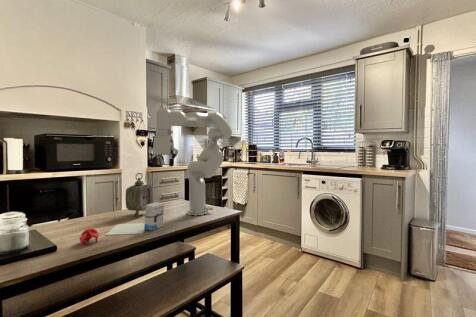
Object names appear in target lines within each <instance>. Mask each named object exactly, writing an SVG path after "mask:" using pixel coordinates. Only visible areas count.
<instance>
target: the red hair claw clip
mask: <svg viewBox="0 0 476 317" xmlns="http://www.w3.org/2000/svg"><path fill="white" fill-rule="evenodd" d="M93 238H94V239H95V242H96V243H98V238H99V233H98V231H97V229H94V228H87V229H85V230H84V231H83V232H82V233H81V236H80V237H79V241H80V243H81V244H82V245H87V242H86V241H89V240H92V239H93Z"/></svg>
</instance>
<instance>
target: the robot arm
mask: <svg viewBox="0 0 476 317" xmlns="http://www.w3.org/2000/svg"><path fill="white" fill-rule="evenodd" d="M172 127H189V128H191V127H192V128H193V127H194V128H209V129H208V132H207V136H208V144H207V145H206V146H205V147H204V148H203V150H202V151H201V152H200V154H199V156H198V160H194V161H191V162H190V163H189V164H188V165H187V168H186V169H187V176H188V182H189V184H188V185H189V187H188V188H189V189H188V190H189V191H188V194H189V197H188V198H189V200H188V201H189V203H188V204H189V210H187V211H186V215H188V216H191V215H194V216H195V217H198V216H197V215H201V216H204V214H205V215H208V213H209V211H213V210H214V207H213V206H207V204H206V182H205V179H209V178H212V177H213V176H214V175H215V174H216V172H217V171H218V170H219V168H220V167H221V166H222V164H223V162H224V158H225V157H224V153H223V151H221V145H220V142H219V140H228V139H230V138H231V136H233V135H232V134H233V131H232V128H231V126H230V125H229V124H228V122H227V121H226V118H224V116H222V114H220V113H219V112H209V113H207V112H197V111H191V112H184V111H181V110H170V109H165V108H159V109H156V111H155V135H154V139H153V147H152V148H150V149H148V153H149V156H150V157H151V158H152V167H158V164H159V162H158V157H159V156H168V157H169V159H168V160H169V161H168V162H169V163H168V167H171V168H172V167H174V164H175V159H176V158H177V156H178V154H179V150H178V149H177V148H175V145H174V137H173V135H172V134H173V133H174V132H173V130H172ZM204 178H205V179H204ZM194 216H193V217H194Z"/></svg>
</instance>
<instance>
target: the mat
mask: <svg viewBox="0 0 476 317" xmlns="http://www.w3.org/2000/svg"><path fill="white" fill-rule="evenodd" d="M144 226H145V222H144V223H142V222H141V223H121V224H120V223H119V224H116V225H114V226H113V228H112V229H110V230H109V231H108V232H107V233H105V236H106V237H107V236H125V235H127V236H128V235H143V234H144V233H145V231H146V229H144Z"/></svg>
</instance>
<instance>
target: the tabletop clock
mask: <svg viewBox="0 0 476 317" xmlns="http://www.w3.org/2000/svg"><path fill="white" fill-rule="evenodd" d="M138 175H141V178H140V177H138V178H137V176H138ZM135 179H136V181H135V182H134V185H131V186H128V187H127V188H126V189H125V208H126V209H127V210H129V211H135V212H134V216H136V218H138V219H139V218H140V217H141V216H140V214H139V213H140V212H143V211H146V205H148V204H151V203H153V189H152V184H144V181H142V179H143V173H141V172H138V173H136V174H135Z"/></svg>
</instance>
